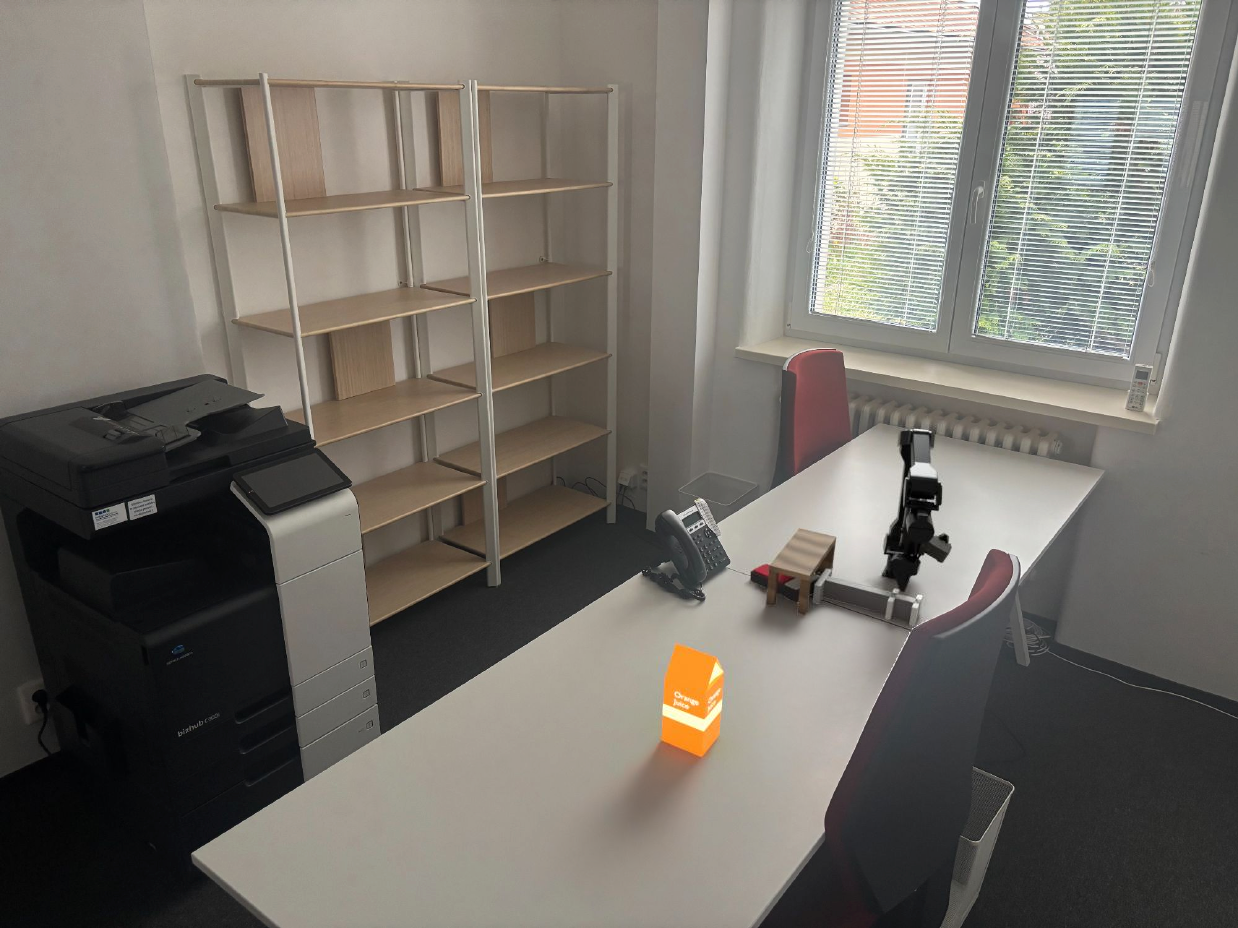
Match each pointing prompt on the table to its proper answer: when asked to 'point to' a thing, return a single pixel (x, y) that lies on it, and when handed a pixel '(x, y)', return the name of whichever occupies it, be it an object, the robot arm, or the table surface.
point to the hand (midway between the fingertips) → (906, 583)
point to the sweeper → (867, 597)
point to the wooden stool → (801, 564)
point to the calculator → (781, 582)
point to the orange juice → (692, 700)
